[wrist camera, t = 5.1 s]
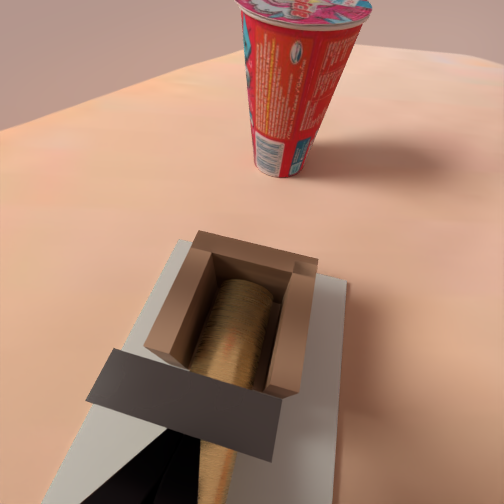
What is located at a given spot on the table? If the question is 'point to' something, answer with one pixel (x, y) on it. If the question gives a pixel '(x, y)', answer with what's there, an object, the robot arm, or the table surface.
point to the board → (292, 409)
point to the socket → (205, 293)
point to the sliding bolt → (205, 389)
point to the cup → (294, 72)
